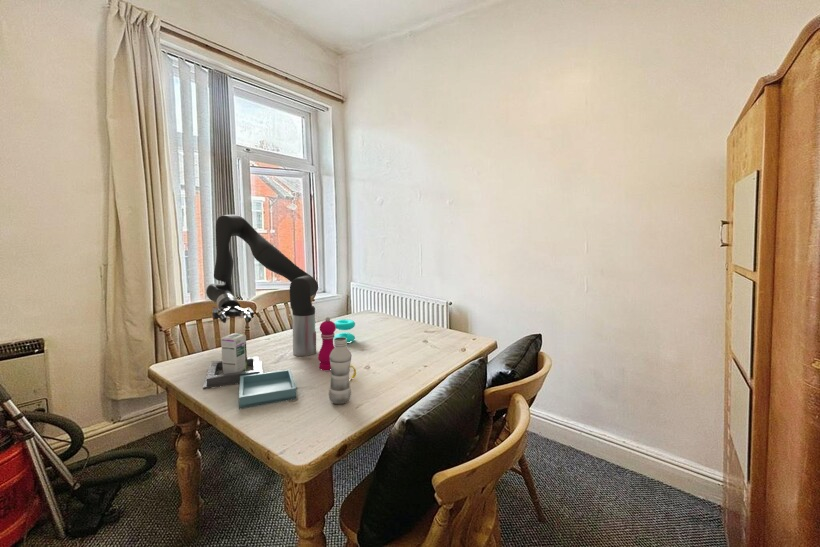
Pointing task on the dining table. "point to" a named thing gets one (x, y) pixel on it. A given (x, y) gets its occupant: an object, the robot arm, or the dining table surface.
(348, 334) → the donuts
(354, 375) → the watch
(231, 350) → the syrup box
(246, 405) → the tray
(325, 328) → the pepper mill
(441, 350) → the dining table surface
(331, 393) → the plastic bottle
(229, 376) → the metal socket
